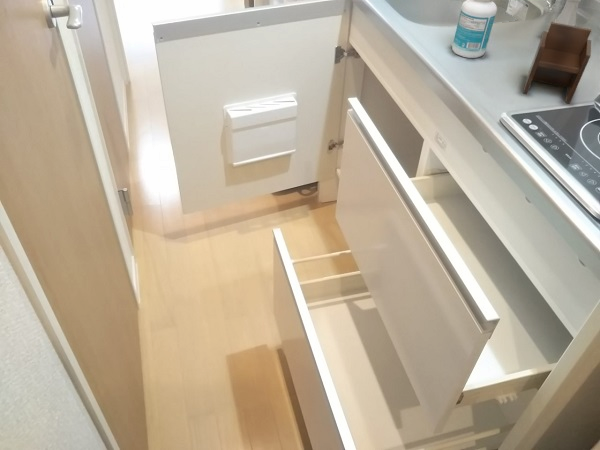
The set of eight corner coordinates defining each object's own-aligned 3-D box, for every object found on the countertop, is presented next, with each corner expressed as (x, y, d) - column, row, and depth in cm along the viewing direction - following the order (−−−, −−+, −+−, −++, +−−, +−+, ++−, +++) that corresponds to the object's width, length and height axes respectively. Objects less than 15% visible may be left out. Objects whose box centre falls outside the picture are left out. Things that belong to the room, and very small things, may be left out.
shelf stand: (571, 86, 108) (595, 30, 100) (569, 104, 103) (595, 45, 95) (526, 77, 111) (547, 21, 102) (522, 93, 105) (544, 35, 97)
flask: (580, 41, 126) (598, -1, 119) (562, 48, 123) (579, 4, 116) (554, 31, 130) (570, -11, 123) (536, 37, 127) (551, -6, 120)
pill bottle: (469, 43, 122) (485, -17, 113) (491, 56, 118) (509, -6, 108) (444, 48, 120) (458, -13, 111) (465, 61, 115) (482, -1, 106)
